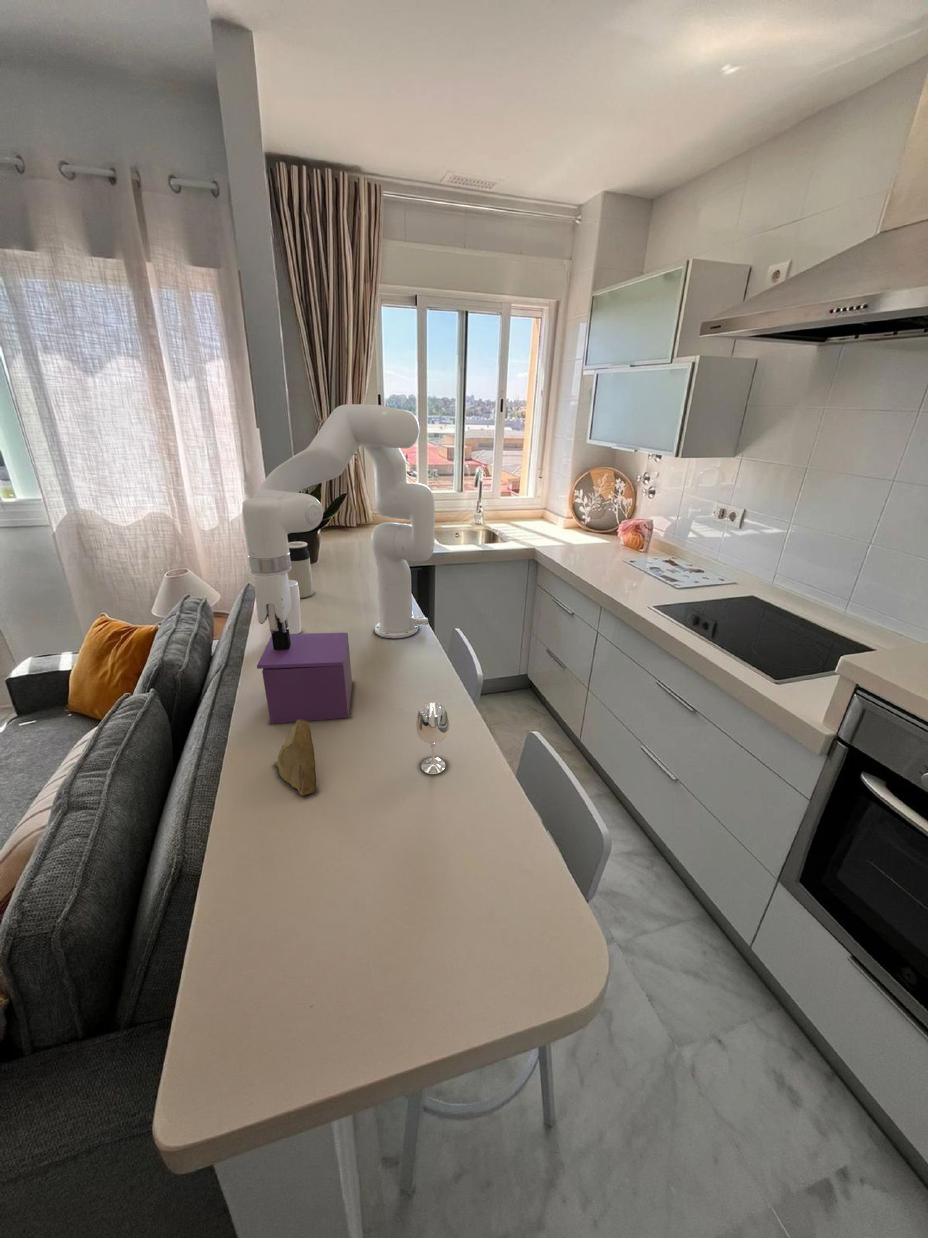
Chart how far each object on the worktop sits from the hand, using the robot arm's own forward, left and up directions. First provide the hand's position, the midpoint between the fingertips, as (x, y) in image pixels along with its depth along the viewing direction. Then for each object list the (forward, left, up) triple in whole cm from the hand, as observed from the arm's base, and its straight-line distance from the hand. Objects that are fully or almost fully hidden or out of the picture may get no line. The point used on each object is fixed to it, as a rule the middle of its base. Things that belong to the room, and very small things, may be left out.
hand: (282, 648), depth 103 cm
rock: (-5, +25, -14) cm, 29 cm away
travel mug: (+8, -72, -14) cm, 74 cm away
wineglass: (-29, +25, -14) cm, 41 cm away
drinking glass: (+6, -39, -14) cm, 42 cm away
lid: (-5, 0, -1) cm, 5 cm away
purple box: (-5, 0, -14) cm, 14 cm away
